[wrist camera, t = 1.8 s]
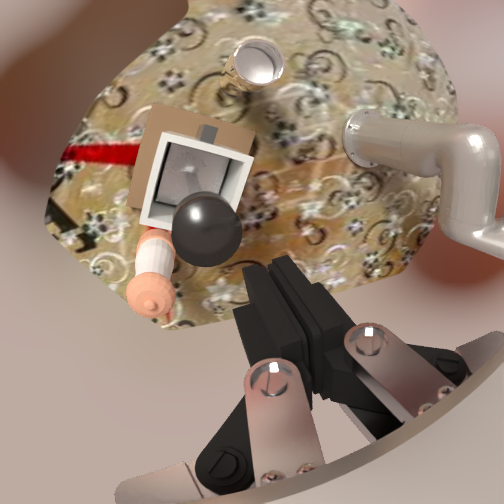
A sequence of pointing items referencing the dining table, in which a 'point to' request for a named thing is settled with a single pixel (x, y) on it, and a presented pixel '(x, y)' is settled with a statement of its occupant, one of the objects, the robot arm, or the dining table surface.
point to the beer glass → (252, 68)
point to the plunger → (199, 206)
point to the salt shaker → (153, 275)
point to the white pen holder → (191, 135)
